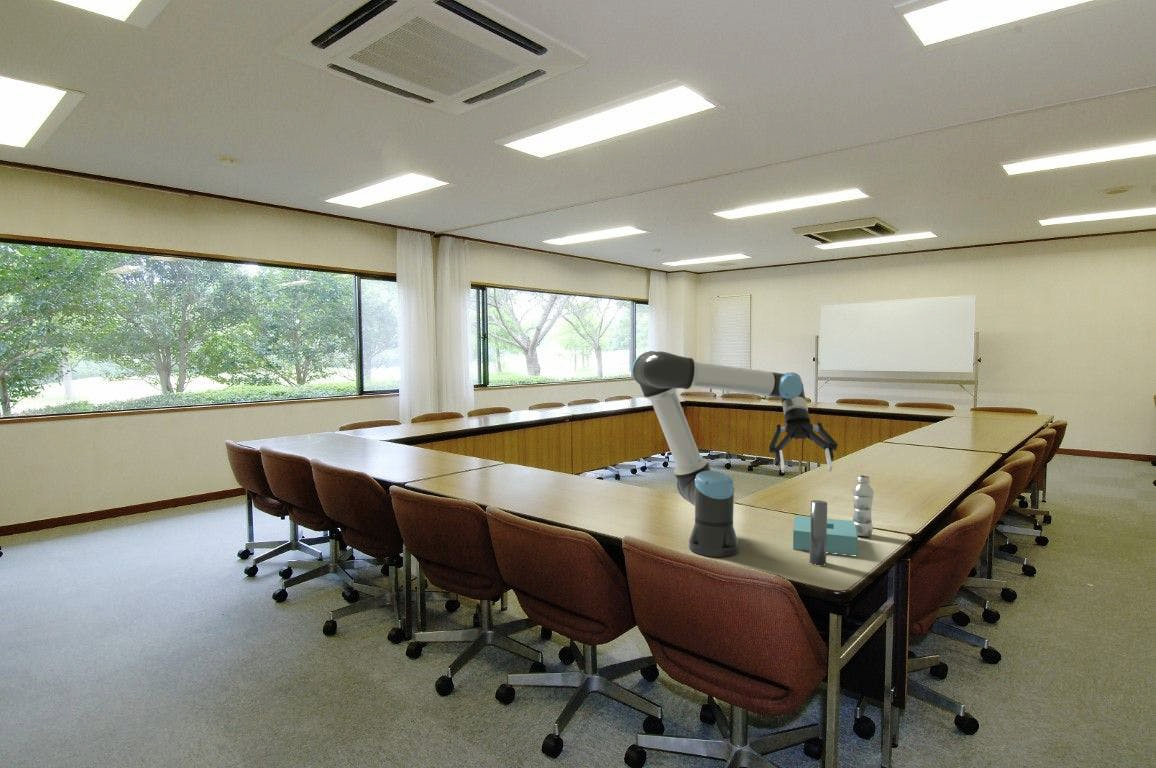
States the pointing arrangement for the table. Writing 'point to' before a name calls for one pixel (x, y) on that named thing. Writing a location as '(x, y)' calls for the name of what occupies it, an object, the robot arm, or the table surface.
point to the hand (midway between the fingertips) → (806, 469)
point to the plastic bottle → (863, 506)
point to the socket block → (838, 535)
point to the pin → (818, 532)
